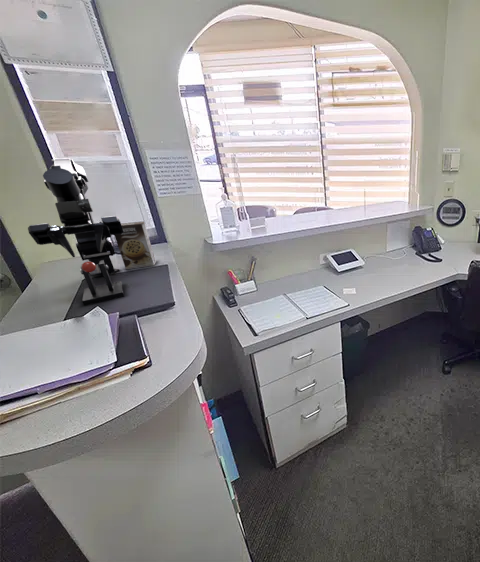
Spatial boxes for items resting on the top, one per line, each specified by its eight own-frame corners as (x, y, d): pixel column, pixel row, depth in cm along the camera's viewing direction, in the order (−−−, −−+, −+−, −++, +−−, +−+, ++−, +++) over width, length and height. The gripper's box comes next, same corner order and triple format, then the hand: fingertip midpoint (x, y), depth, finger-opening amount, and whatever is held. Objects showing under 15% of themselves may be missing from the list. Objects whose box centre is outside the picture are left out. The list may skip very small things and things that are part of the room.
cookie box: (125, 269, 114) (109, 226, 108) (128, 265, 119) (114, 223, 113) (154, 265, 118) (141, 223, 112) (156, 261, 123) (144, 220, 117)
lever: (96, 270, 80) (93, 260, 80) (82, 273, 79) (78, 262, 78) (103, 273, 92) (99, 264, 91) (90, 275, 90) (87, 266, 90)
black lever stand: (124, 296, 91) (112, 264, 87) (83, 305, 85) (69, 272, 82) (122, 285, 99) (111, 256, 96) (85, 293, 94) (73, 262, 90)
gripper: (12, 193, 76) (24, 244, 73) (108, 186, 87) (123, 231, 83) (32, 220, 85) (43, 268, 81) (117, 212, 96) (131, 253, 92)
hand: (86, 254), depth 84 cm, fingers open, 5 cm apart
